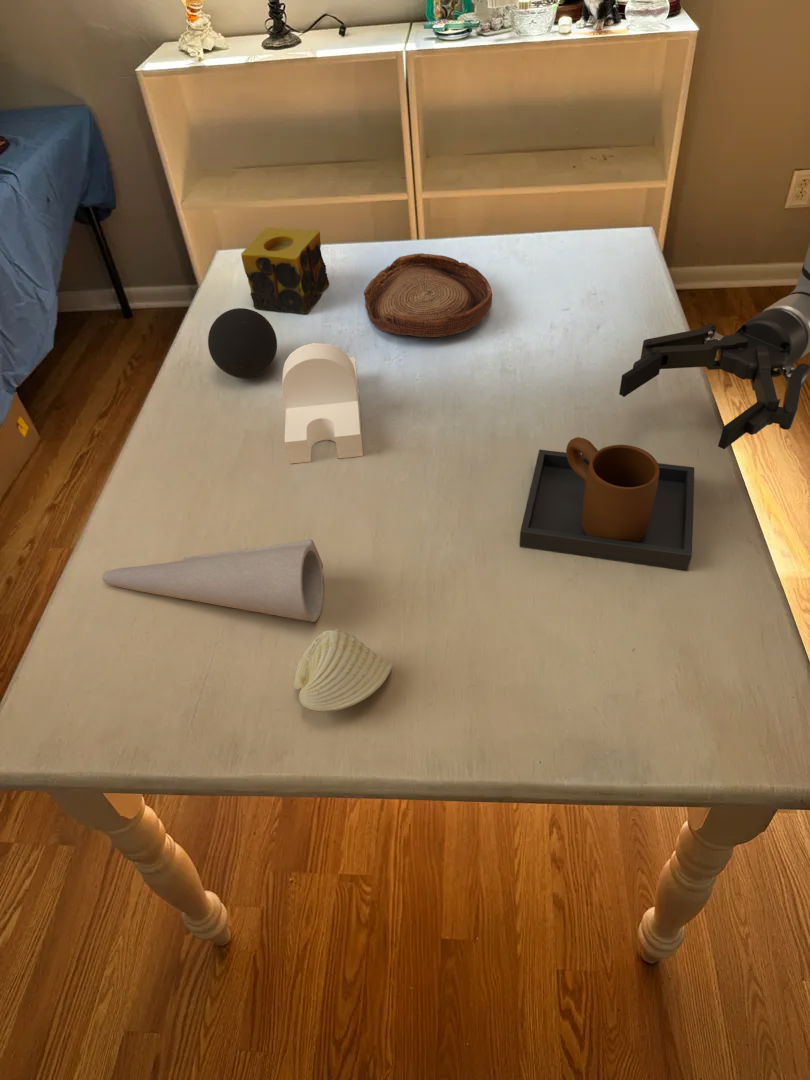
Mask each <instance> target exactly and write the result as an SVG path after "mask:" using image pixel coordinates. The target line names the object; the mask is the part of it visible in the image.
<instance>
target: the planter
mask: <svg viewBox="0 0 810 1080" xmlns="http://www.w3.org/2000/svg"><path fill="white" fill-rule="evenodd" d="M323 570H324V563H323V561H322V559H321V556H320V553H319V551H318V549H317V546H316V543H315V542H314V540H313V539H307V540H299V541H291V542H286V543H285V542H284V543H278V544H271V545H263V546H256V547H250V548H243V549H235V550H227V551H222V552H214V553H206V554H200V555H193V556H186V557H183V559H182V560H177V561H169V562H162V563H154V564H147V565H145V564H144V565H138V566H127V567H126V566H125V567H119V568H118V567H117V568H114V569H111V570H107V571H105V572H104V573H103V574H102V577H101V578H102V582H103V583H105V584H106V585H109V586H113V587H118V588H123V589H127V590H132V591H138V592H142V593H148V594H153V595H158V596H165V597H171V598H177V599H181V600H186V601H187V600H188V601H194V602H198V603H206V604H210V605H216V606H222V607H228V608H234V609H238V610H243V611H250V612H256V613H262V614H268V615H272V616H278V617H282V618H288V619H294V620H301V621H306V622H311V623H313V622H316V621H317V620H318V619H319V618H320V616H321V613H322V610H323V609H322V608H323V604H324V594H325V593H324V592H325V590H324V589H325V587H324V586H325V585H324V572H323Z"/></svg>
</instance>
